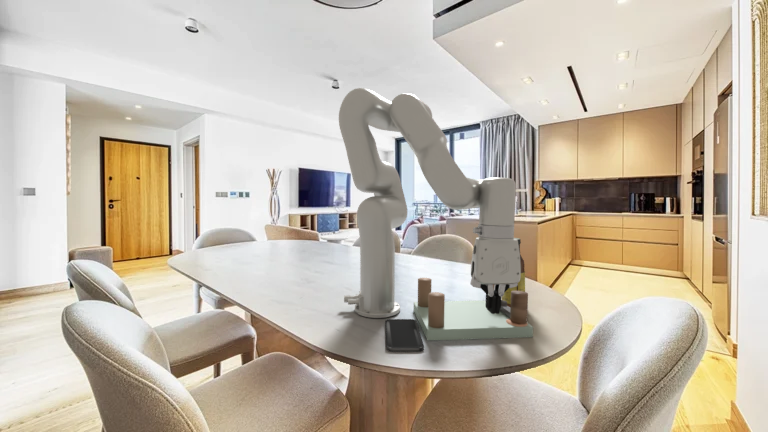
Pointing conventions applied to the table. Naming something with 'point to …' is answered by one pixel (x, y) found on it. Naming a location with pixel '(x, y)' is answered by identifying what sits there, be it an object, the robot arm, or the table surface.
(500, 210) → the robot arm
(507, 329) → the stool seat
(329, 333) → the table surface
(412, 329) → the phone
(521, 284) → the sauce bottle
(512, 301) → the folding leg
